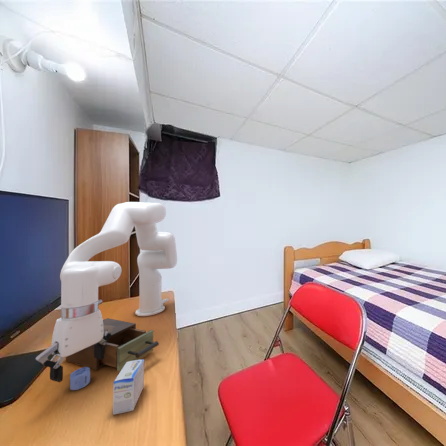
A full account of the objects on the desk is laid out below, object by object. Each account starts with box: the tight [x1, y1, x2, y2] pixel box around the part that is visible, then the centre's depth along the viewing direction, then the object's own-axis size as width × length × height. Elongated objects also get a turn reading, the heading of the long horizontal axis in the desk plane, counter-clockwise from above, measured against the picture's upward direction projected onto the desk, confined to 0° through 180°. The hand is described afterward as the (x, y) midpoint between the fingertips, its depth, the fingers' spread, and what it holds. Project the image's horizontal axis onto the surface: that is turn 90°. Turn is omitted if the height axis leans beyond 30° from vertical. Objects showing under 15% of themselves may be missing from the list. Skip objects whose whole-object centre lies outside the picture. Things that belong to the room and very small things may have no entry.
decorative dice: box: [69, 366, 91, 391], centre depth 62 cm, size 4×4×4 cm
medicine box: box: [112, 358, 145, 416], centre depth 57 cm, size 8×4×9 cm, turn 20°
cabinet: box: [65, 317, 137, 371], centre depth 76 cm, size 15×13×9 cm
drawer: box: [99, 328, 160, 373], centre depth 73 cm, size 18×11×7 cm, turn 75°
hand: (79, 368), depth 62 cm, fingers open, 9 cm apart
